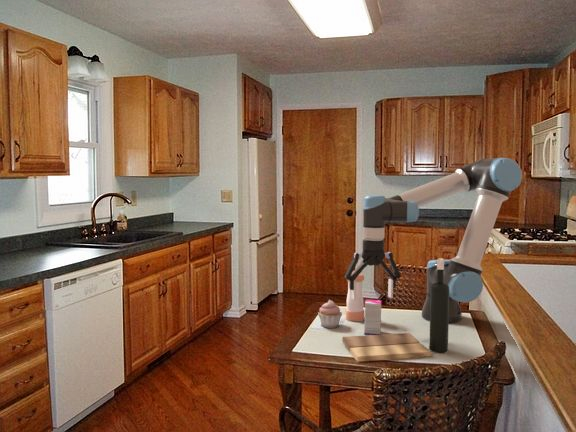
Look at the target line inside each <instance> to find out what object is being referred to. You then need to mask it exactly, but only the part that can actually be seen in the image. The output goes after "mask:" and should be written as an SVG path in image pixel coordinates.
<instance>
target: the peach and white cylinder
mask: <svg viewBox="0 0 576 432" xmlns="http://www.w3.org/2000/svg"><path fill="white" fill-rule="evenodd" d="M355 270H356V269H354V270H353V272H354V271H355ZM353 272H352V274H353ZM352 274H351V275H352ZM364 280H365V275H364V274H363V273H362V272H361V273H360V274H359V275H358V276H357V278H356V279H355V281H356V300H354V299H353V298H352V290H350V288H349V282H350V281H349V280H347V279H346V281H347V285H348V286H347V288H348V289H347V295H346V309H345V320H347V321H349V322H362V321H365V308H364V304H365V302H364V297H363V295H364V294H363V281H364ZM361 320H362V321H361Z"/></svg>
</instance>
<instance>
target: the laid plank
mask: <svg viewBox="0 0 576 432" xmlns="http://www.w3.org/2000/svg"><path fill="white" fill-rule="evenodd" d="M349 353H350V355H351V356H352V358H353V359H355V361H356V362H358V363H360V362H372V361H387V360H388V361H390V360H399V359H402V358H403V359H411V358H410V357H417V358H425V357H424V356H431V357H432V351H430V349H429V348H427V347H426V346H425V345H424V344H422V343H414V344H399V345H384V346H369V347H354V348H350V352H349Z"/></svg>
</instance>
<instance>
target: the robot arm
mask: <svg viewBox="0 0 576 432" xmlns="http://www.w3.org/2000/svg"><path fill="white" fill-rule="evenodd" d="M520 167H521V166H520V165H519V164H518V163H517V161H515V160H514V159H512V158H507V157H495V158H491V157H490V158H482V159H481V158H480V159H478V160H475V161H474V162H472V163H471V162H470V163H469V164H466V165H464V166H461V167H460V168H456V169H455V172H452V174H448V175H446V176H443V177H441V178H438V179H434V180H433V181H429V182H428V183H424V184H422V185H420V186H417V187H415V188H412V189H410V190H407V191H404V192H402V193H399V194H396V195H393V196H391V197H388V198H387V197H385V196H384V195H381V194H379V195H376V194H375V195H373V194H372V195H371V194H370V195H369V194H368V195H366V196H364V197H363V208H362V211H363V214H362V215H363V222H362V224H363V225H362V226H363V227H362V238H363V239H362V252H361V253H357V252H356V251H355V252H354V253H353V258H352V260H351V262H350V264H349V266H348V268H347V270H346V272H345V274H344V279H346V281H347V280H349V281H350V282H349V288H350V290H352V298H353V299H354V300H356V281H355V279H356V278H357V276H358V275H359V274H360V273H362V272H363V270H364V269H365V268H367V267H368V266H369V267H370V266H380V267H381V268H382V269H383V270H384V271H385V273H386V274H387V275H388V276H389V278H388V281H387V282H388V284H387V285H388V286H387V287H388V288H387V289H388V290H387V297H388V298H390V299H393V298H394V289H396V282H397V280H398V279H400V278H401V277H402V275H401V273H400V271H399V268H398V267H397V264H396V262H395V260H394V254H393V252H391V251H387V252H385V240H384V239H385V233H386V232H385V230H386V229H385V224H386V223H414V222H416V221H417V220H418V219H419V215H420V208H421V207H424V206H427V205H429V204H433V203H434V202H438V201H441V200H442V199H445V198H448V197H450V196H453V195H455V194H458V193H461V192H463V193H468V192H470V191H474V190H475V191H476V193H477V198H476V201H475V203H474V206H473V210H472V212H471V214H470V216H469V217H470V218H469V220H468V223H467V226H466V228H465V232H464V234H463V238H462V240H461V243H460V246H459V249H458V251H457V254H456V256H455V257H452V258H451V259H444V275H443V282H444V283H446V284H448V286H449V323H458V322H460V321H462V318H463V313H462V310H461V306H460V304H459V303H460V302H461V303H471V302H472V301H475V300H476V299H478V298H479V297H480V295H481V294H482V292H483V289H484V282H483V279H482V277H481V276H482V275H483V274H482V273H483V270H484V269H483V268H482V265H481V263H482V260H483V257H484V254H485V252H486V249H487V247H488V243H489V240H490V238H491V234H492V233H493V229H494V226H495V223H496V220H497V218H498V215H499V212H500V210H501V206H502V204H503V202H505V201H508V200H509V197H510V195H511V192H512V191H514V190H516V189H517V188H518V187H519V186H520V185H521V182H522V180H523V171H522V169H521V168H520ZM361 258H362V261H360V264H359V265H358V266H357V264H358V261H359V260H360V259H361ZM384 258H386V259H387V261H388V264H389V265H390V267H391V269H392V270H391V269H390V267H388V266H387V264H386V263H385V261H384ZM437 260H438V259H432V260H429V261H428V262H427V266H426V298H425V300H424V303H423V306H422V309H421V317H422V318H423V319H425V320H427V321H430V296H431V285H432V284H433V283H435V282H437ZM356 266H357V268H356ZM354 270H355V271H354ZM353 271H354V272H353ZM352 272H353V274H352ZM351 274H352V275H351Z"/></svg>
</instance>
